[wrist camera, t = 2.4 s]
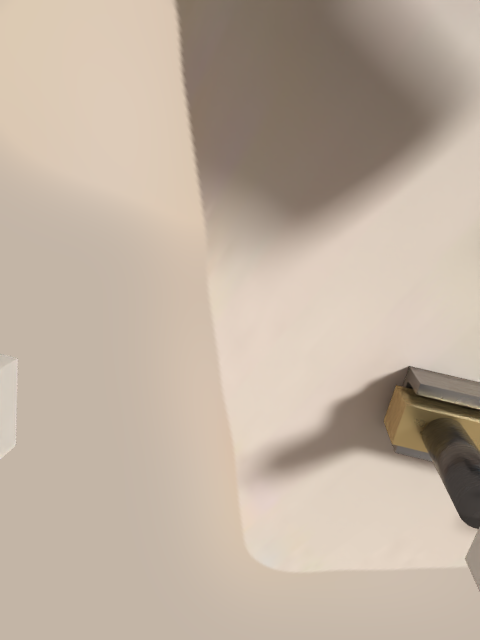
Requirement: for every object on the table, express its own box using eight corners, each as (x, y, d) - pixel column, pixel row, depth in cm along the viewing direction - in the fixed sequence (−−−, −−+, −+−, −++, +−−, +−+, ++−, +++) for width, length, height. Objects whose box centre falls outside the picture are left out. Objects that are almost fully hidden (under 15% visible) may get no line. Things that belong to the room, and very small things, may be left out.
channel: (409, 366, 37) (420, 383, 34) (525, 393, 36) (548, 413, 33) (386, 430, 39) (395, 452, 36) (496, 456, 39) (515, 482, 35)
